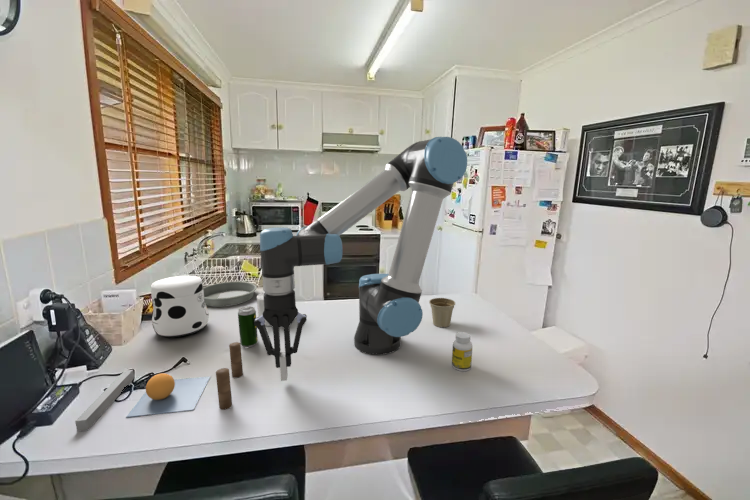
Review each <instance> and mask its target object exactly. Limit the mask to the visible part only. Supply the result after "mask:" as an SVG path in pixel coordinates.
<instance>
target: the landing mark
mask: <svg viewBox="0 0 750 500" xmlns="http://www.w3.org/2000/svg"><path fill="white" fill-rule="evenodd" d="M210 379H211V376H199V377H188V378H175V379H174V382H175V387H174V390H173V391H172V393H171V394H170V395H169V396H168V397H166V398H164V399H161V400H154V399H151V398H150V397H149V396H148V395H147V393H146V391H145V392H144V394H143V395H142V396H141V397H140V399H139V400H138V401H137V402H136V404H135V405H134V406H133V408H132V409H131V410H130V411H129V413H128V414H127V415H126V417H125V418H133V417H134V418H135V417H136V418H137V417H145V416H152V415H153V416H154V415H163V414H171V413H181V412H189V411H190V412H191V411H192V412H193V411H194V410H195V408H196V406H197V405H198V403H199V400H200V398H201V396H202V395H203V393H204V391H205V389H206V387H207V385H208V383H209V381H210Z"/></svg>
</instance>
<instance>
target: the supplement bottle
mask: <svg viewBox="0 0 750 500" xmlns="http://www.w3.org/2000/svg"><path fill="white" fill-rule="evenodd" d="M472 360H473V343H472V342H471V334H470V333H468V332H466V331H465V332H464V331H459V332H456V333H455V340H453V342H452V355H451V366H452V367H453V368H454V369H455V370H457V371H459V372H466V371H467V372H468V371H469V370H471V369H472Z"/></svg>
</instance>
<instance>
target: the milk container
mask: <svg viewBox="0 0 750 500" xmlns="http://www.w3.org/2000/svg"><path fill="white" fill-rule="evenodd" d="M203 288H204V284H203V280H202V277H200V276H196V275H178V276H170V277H166V278H161V279H159V280H156V281H154V282H152V283H151V285H150V294H151V301H152V308H153V312H152V318H151V325H152V329H153V330H154V332H155V334H156V335H159V336H161V337H164V338H177V337H184V336H188V335H192V334H194V333H197V332H199V331H201V330H203V329H204V328H205V327H206V326H207V324H208V323H209V315H210V313H209V309H208V306H207V305H206V304H205V301H204V291H203Z"/></svg>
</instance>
